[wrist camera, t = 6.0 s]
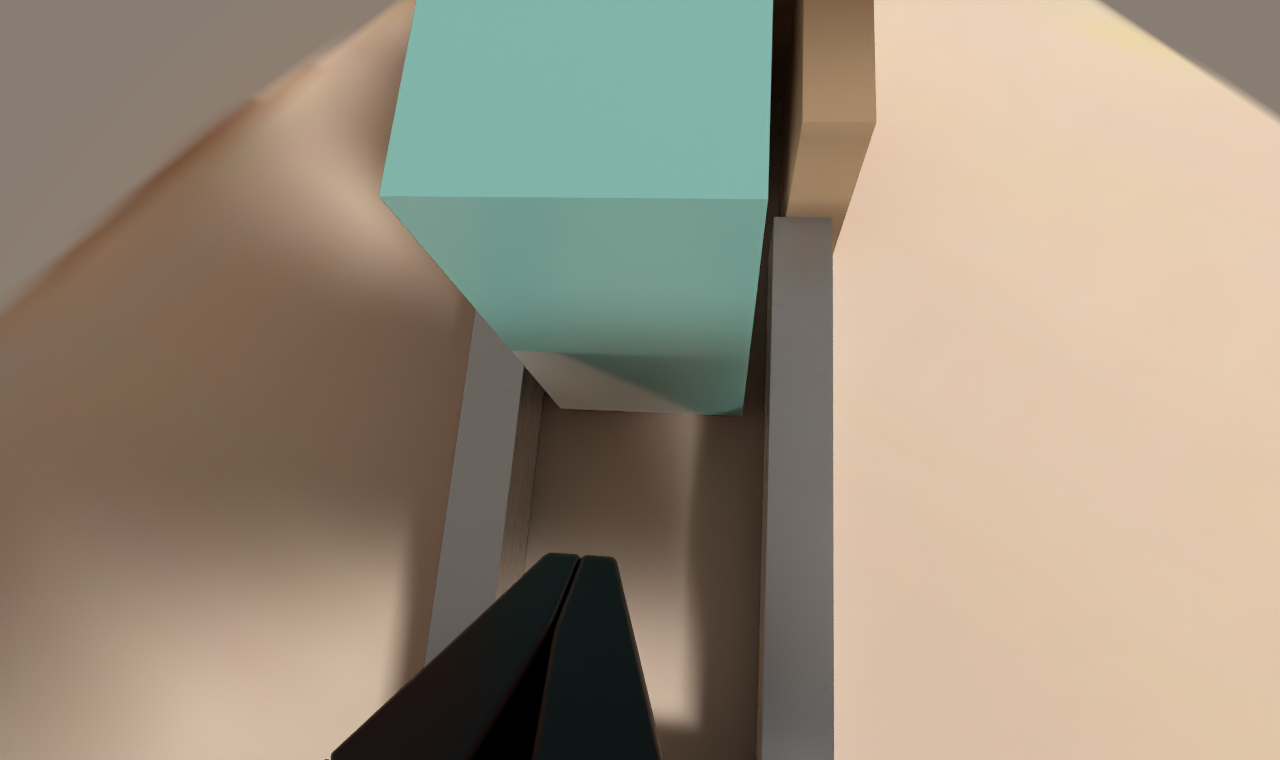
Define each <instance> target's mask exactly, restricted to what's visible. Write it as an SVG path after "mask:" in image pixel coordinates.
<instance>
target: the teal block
mask: <svg viewBox="0 0 1280 760" xmlns="http://www.w3.org/2000/svg"><path fill="white" fill-rule="evenodd" d="M772 22H773V0H416V5H415V11H414V16H413V21H412V26H411V31H410V37H409V42H408V47H407V52H406V57H405V63H404V68H403V73H402V78H401V83H400V89H399V94H398V99H397V104H396V109H395V115H394V120H393V125H392V130H391V135H390V141H389V146H388V151H387V156H386V161H385V167H384V172H383V177H382V182H381V187H380V193H379V197H380V198H381V199H382V200H383V201H384V203H385V204H386V205H387V206H388V207H389V209H390V210H391V211H392V212H393V213H394V214H395V216H396V217H397V218H398V219H399V220H400V221H401V223H402V224H403V225H404V226H405V227H406V228H407V230H408V231H409V232H410V233H411V234H412V235H413V237H414V238H415V239H416V240H417V241H418V242H419V244H420V245H421V246H422V247H423V248H424V249H425V251H426V252H427V253H428V254H429V255H430V256H431V258H432V259H433V260H434V261H435V262H436V263H437V265H438V266H439V267H440V268H441V269H442V270H443V272H444V273H445V274H446V275H447V276H448V277H449V279H450V280H451V281H452V282H453V283H454V284H455V286H456V287H457V288H458V289H459V290H460V291H461V293H462V294H463V295H464V296H465V297H466V299H467V300H468V301H469V302H470V303H471V304H472V306H473V307H474V308H475V309H476V310H477V311H478V313H479V314H480V315H481V316H482V317H483V318H484V320H485V321H486V322H487V323H488V324H489V325H490V327H491V328H492V329H493V330H494V331H495V332H496V334H497V335H498V336H499V337H500V338H501V339H502V341H503V342H504V343H505V344H506V345H507V346H508V348H509V349H510V350H511V351H512V352H513V353H514V355H515V356H516V357H517V358H518V359H519V360H520V362H521V363H522V364H523V365H524V366H525V367H526V369H527V370H528V371H529V372H530V373H531V374H532V376H533V377H534V378H535V379H536V380H537V382H538V383H539V384H540V385H541V386H542V387H543V389H544V390H545V391H546V392H547V393H548V394H549V396H550V397H551V398H552V399H553V400H554V401H555V403H556V404H557V405H558V406H559V407H560V408H563V409H585V410H608V411H630V412H653V413H676V414H698V415H721V416H742V412H743V403H744V395H745V387H746V378H747V370H748V362H749V353H750V345H751V337H752V329H753V320H754V312H755V304H756V295H757V287H758V279H759V270H760V262H761V254H762V245H763V237H764V229H765V221H766V212H767V204H768V182H769V142H770V102H771V62H772Z"/></svg>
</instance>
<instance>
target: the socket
mask: <svg viewBox="0 0 1280 760" xmlns="http://www.w3.org/2000/svg"><path fill="white" fill-rule="evenodd" d="M771 95H783V99H782V150H781V200H780V217H828V218H832V253H833V252H834V249H835V246H836V243H837V240H838V237H839V234H840V230H841V227H842V224H843V221H844V218H845V215H846V212H847V209H848V206H849V203H850V200H851V197H852V194H853V191H854V188H855V185H856V182H857V179H858V176H859V173H860V170H861V167H862V164H863V161H864V158H865V155H866V152H867V149H868V145H869V142H870V139H871V136H872V133H873V130H874V127H875V124H876V88H875V43H874V0H773V22H772V62H771Z"/></svg>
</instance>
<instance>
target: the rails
mask: <svg viewBox="0 0 1280 760" xmlns="http://www.w3.org/2000/svg"><path fill="white" fill-rule="evenodd" d="M543 395H544V389H543V387H542V386H541V385H540V384H539V383H538V382H537V380H536V379H535V378H534V377H533V376H532V374H531V373H530V372H529V371H528V370H527V369H526V367H525V366H524V365H523V364H522V363H521V362H520V360H519V359H518V358H517V357H516V356H515V355H514V353H513V352H512V351H511V350H510V349H509V348H508V346H507V345H506V344H505V343H504V342H503V341H502V339H501V338H500V337H499V336H498V335H497V334H496V332H495V331H494V330H493V329H492V328H491V327H490V325H489V324H488V323H487V322H486V321H485V320H484V318H483V317H482V316H481V315H480V314H479V313H478V311H477V310H476V309H475V316H474V323H473V330H472V337H471V343H470V350H469V357H468V364H467V371H466V378H465V385H464V392H463V399H462V406H461V413H460V420H459V427H458V434H457V441H456V448H455V455H454V462H453V469H452V476H451V483H450V490H449V496H448V503H447V510H446V517H445V524H444V531H443V538H442V545H441V552H440V559H439V566H438V573H437V580H436V587H435V594H434V601H433V608H432V615H431V622H430V629H429V636H428V643H427V650H426V656H425V663H424V667H425V666H426V665H427V664H428V663H429V662H430V661H431V660H432V659H434V658H435V657H436V656H437V655H438V654H439V653H440V652H441V651H442V650H443V649H444V648H445V647H446V646H447V645H449V644H450V643H451V642H452V641H453V640H454V639H455V638H456V637H457V636H458V635H459V634H460V633H461V632H463V631H464V630H465V629H466V628H467V627H468V626H469V625H470V624H471V623H472V622H473V621H474V620H475V619H477V618H478V617H479V616H480V615H481V614H482V613H483V612H484V611H485V610H486V609H487V608H488V607H489V606H491V605H492V604H493V603H494V602H495V601H496V600H497V599H498V598H499V597H500V596H501V595H502V594H503V593H505V592H506V591H507V590H508V589H509V588H510V587H511V586H512V585H513V584H514V583H515V582H516V581H517V580H519V579H520V578H521V577H522V576H523V574H524V565H525V556H526V547H527V538H528V529H529V520H530V511H531V502H532V493H533V484H534V475H535V467H536V458H537V449H538V440H539V431H540V422H541V413H542V404H543ZM756 760H834V638H833V253H832V218H828V217H774V220H773V227H772V235H771V242H770V249H769V258H768V300H767V341H766V382H765V424H764V465H763V506H762V548H761V589H760V630H759V672H758V713H757V754H756Z"/></svg>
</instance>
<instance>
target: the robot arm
mask: <svg viewBox="0 0 1280 760" xmlns="http://www.w3.org/2000/svg"><path fill="white" fill-rule="evenodd" d="M325 760H328V759H325ZM331 760H664V759H663V754H662V750H661V746H660V742H659V738H658V733H657V729H656V725H655V721H654V716H653V712H652V708H651V704H650V700H649V695H648V691H647V687H646V683H645V679H644V674H643V670H642V666H641V662H640V658H639V653H638V649H637V645H636V641H635V636H634V632H633V628H632V624H631V620H630V615H629V611H628V607H627V603H626V599H625V594H624V590H623V586H622V582H621V578H620V573H619V569H618V565H617V561H616V560H615V558H613V557H610V556H595V555H586V556H584V557H582V559H581V557H580V556H578V555H577V554H567V553H548V554H546V555H545V556H543V557H542V558H541V559H540V560H539V561H538V562H537V563H536V564H535V565H534V566H532V567H531V568H530V569H529V570H528V571H527V572H526V573H525V574H524V575H523V576H522V577H521V578H520V579H519V580H517V581H516V582H515V583H514V584H513V585H512V586H511V587H510V588H509V589H508V590H507V591H506V592H505V593H503V594H502V595H501V596H500V597H499V598H498V599H497V600H496V601H495V602H494V603H493V604H492V605H491V606H489V607H488V608H487V609H486V610H485V611H484V612H483V613H482V614H481V615H480V616H479V617H478V618H477V619H475V620H474V621H473V622H472V623H471V624H470V625H469V626H468V627H467V628H466V629H465V630H464V631H463V632H461V633H460V634H459V635H458V636H457V637H456V638H455V639H454V640H453V641H452V642H451V643H450V644H449V645H447V646H446V647H445V648H444V649H443V650H442V651H441V652H440V653H439V654H438V655H437V656H436V657H435V658H434V659H432V660H431V661H430V662H429V663H428V664H427V665H426V666H425V667H424V668H423V669H422V670H421V671H420V672H418V673H417V674H416V675H415V676H414V677H413V678H412V679H411V680H410V681H409V682H408V683H407V684H406V685H404V686H403V687H402V688H401V689H400V690H399V691H398V692H397V693H396V694H395V695H394V696H393V697H392V698H390V699H389V700H388V701H387V702H386V703H385V704H384V705H383V706H382V707H381V708H380V709H379V710H378V711H376V712H375V713H374V714H373V715H372V716H371V717H370V718H369V719H368V720H367V721H366V722H365V723H364V724H363V725H361V726H360V727H359V728H358V729H357V730H356V731H355V732H354V733H353V734H352V735H351V736H350V737H349V738H347V739H346V740H345V741H344V742H343V743H342V744H341V745H340V746H339V747H338V748H337V749H336V750H335V751H333V752H332V754H331Z"/></svg>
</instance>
